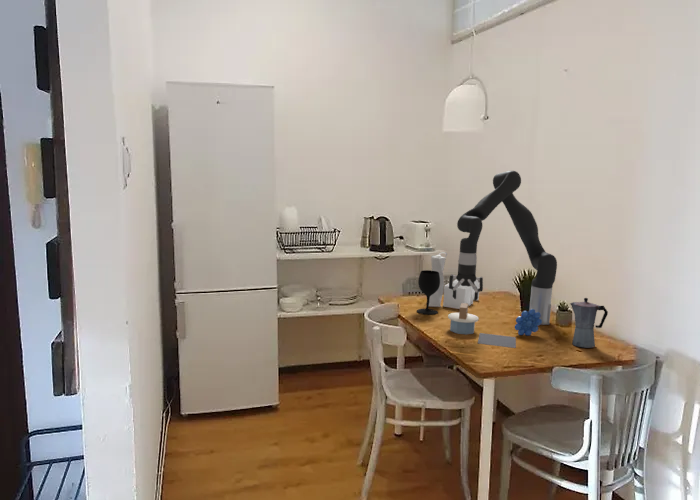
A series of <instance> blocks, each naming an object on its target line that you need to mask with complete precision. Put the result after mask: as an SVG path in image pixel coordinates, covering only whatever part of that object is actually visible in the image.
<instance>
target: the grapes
mask: <svg viewBox="0 0 700 500" xmlns="http://www.w3.org/2000/svg"><path fill="white" fill-rule="evenodd" d="M520 315H521V316H520ZM520 315H518V316H517V317H516V318H515V321H516V324H515V325H514V330H516V331H517V332H518V335H519V336H523V335H525V336H531V335H532V334H533V333H536V332H538V331H539V326H540V324H541V323H542V320H541V319H539V318H540V316H541V314H540V313H539V312H536V313H535V310H534V309H531V310H528V311H527V310H523V311H522V312H521V314H520Z"/></svg>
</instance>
